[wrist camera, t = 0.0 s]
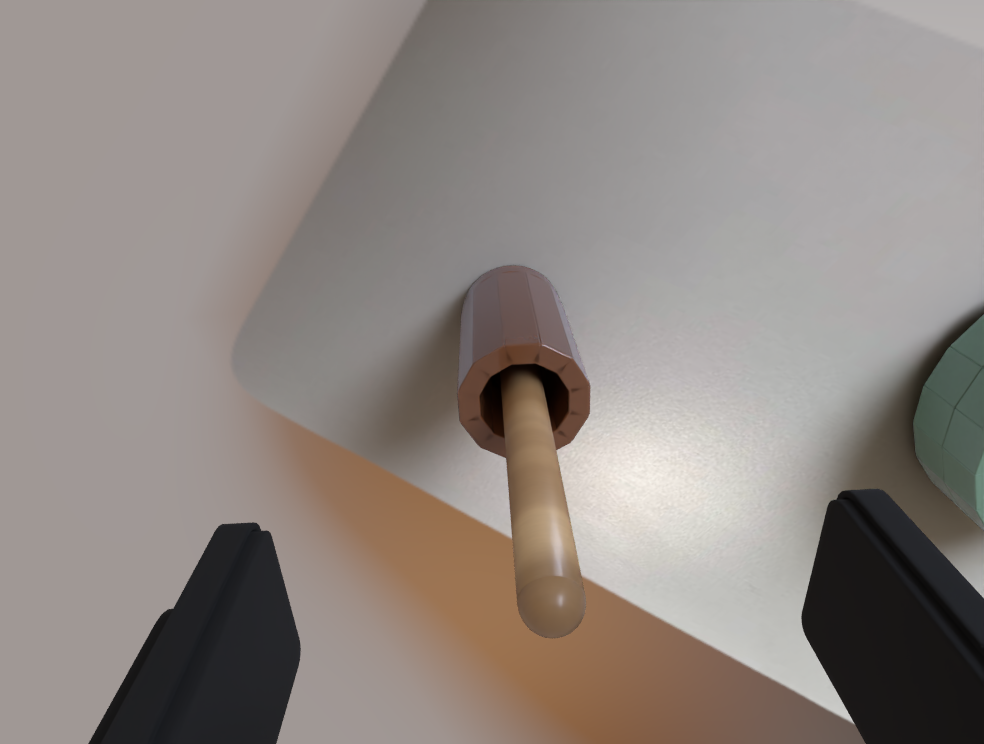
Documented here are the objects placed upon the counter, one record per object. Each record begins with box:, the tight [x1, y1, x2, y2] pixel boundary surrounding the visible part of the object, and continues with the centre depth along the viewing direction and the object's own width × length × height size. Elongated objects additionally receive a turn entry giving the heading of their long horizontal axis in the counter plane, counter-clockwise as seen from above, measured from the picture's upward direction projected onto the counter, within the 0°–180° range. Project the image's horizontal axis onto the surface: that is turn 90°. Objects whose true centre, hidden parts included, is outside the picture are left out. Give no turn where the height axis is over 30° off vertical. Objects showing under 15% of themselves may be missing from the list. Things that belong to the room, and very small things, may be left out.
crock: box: [457, 266, 590, 458], centre depth 27 cm, size 5×5×9 cm
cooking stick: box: [500, 364, 586, 638], centre depth 22 cm, size 2×2×18 cm
